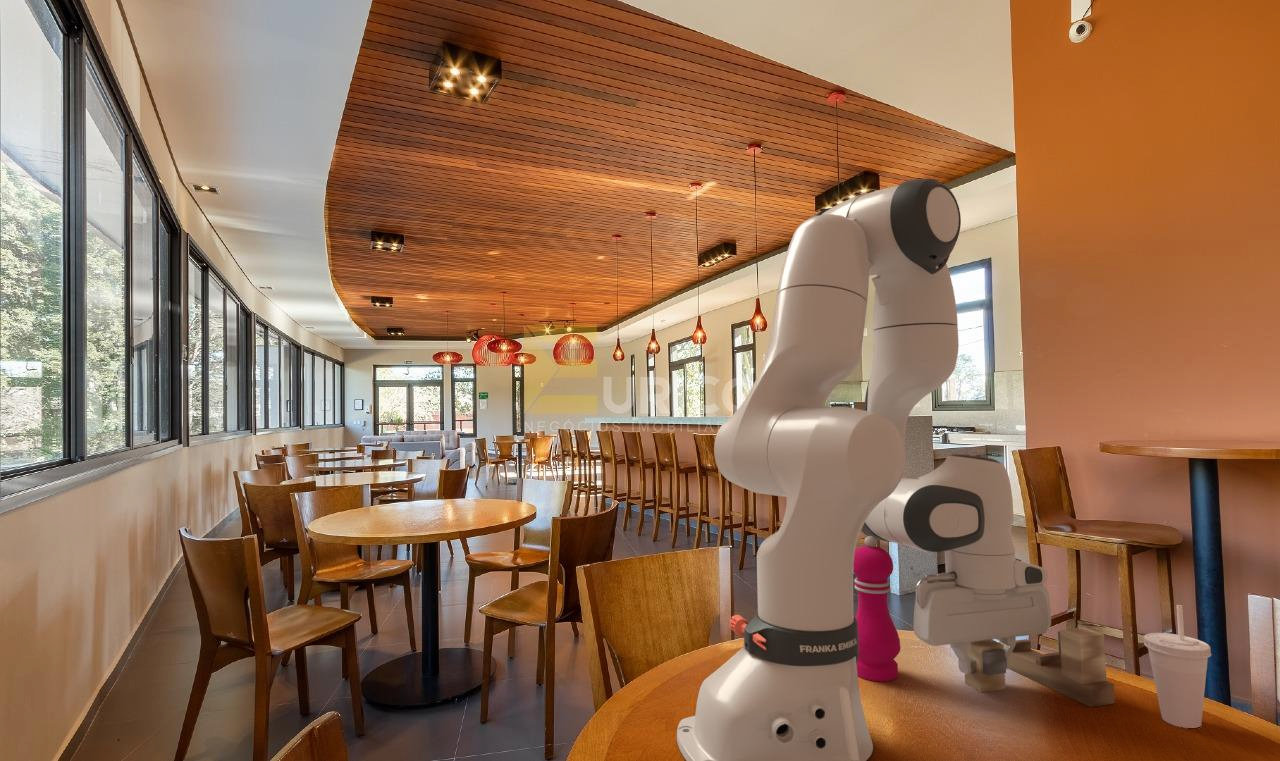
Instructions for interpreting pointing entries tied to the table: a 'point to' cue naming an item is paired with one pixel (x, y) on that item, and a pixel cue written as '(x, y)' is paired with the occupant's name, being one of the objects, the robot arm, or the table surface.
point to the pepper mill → (875, 614)
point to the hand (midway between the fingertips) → (984, 670)
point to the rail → (1053, 675)
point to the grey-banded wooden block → (987, 665)
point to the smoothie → (1179, 674)
